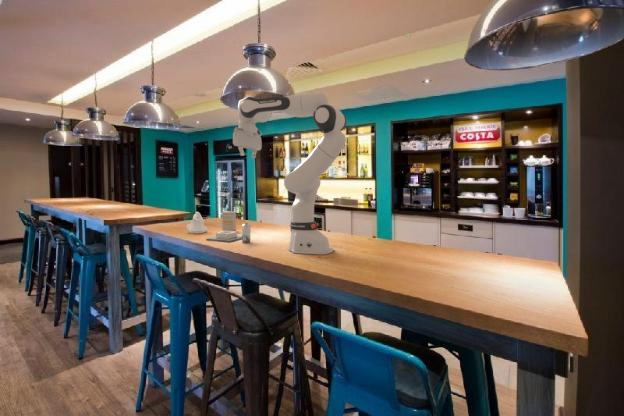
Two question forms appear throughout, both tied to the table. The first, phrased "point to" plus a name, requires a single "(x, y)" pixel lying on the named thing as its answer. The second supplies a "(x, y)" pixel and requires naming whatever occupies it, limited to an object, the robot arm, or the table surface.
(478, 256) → the table surface
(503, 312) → the table surface
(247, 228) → the battery cell
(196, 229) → the soft serve ice cream
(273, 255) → the table surface
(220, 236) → the socket board
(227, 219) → the supplement box
